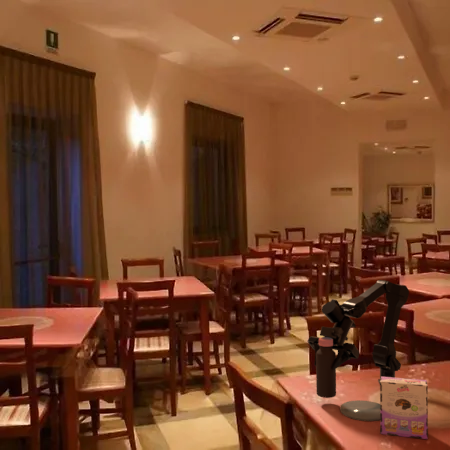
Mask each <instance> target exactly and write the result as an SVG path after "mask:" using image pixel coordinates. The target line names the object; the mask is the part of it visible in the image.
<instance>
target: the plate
mask: <svg viewBox="0 0 450 450" xmlns="http://www.w3.org/2000/svg"><path fill="white" fill-rule="evenodd" d="M339 411H340V413H341V414H342V415H343V416H345V417H347V418H349V419H353V420H357V421H362V422H380V402H379V403H378V402H375V401H371V400H370V401H369V400H362V399H361V400H348V401H346V402H343V403H341V405H340V409H339Z"/></svg>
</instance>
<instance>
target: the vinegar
mask: <svg viewBox="0 0 450 450" xmlns="http://www.w3.org/2000/svg"><path fill="white" fill-rule="evenodd" d="M319 347H320V349H319V350H318V351H317V352H316V366H315V369H316V370H315V372H316V378H315V379H316V381H315V382H316V384H315V385H316V395H317V396H318V397H320V398H324V399H325V398H326V399H331V398H335V397H336V396H337V368H336V369H335V370H332V366H333V363H334V361H335V359H336V357H337V353H336V352H335V350H333V349H332V347H333V339H332V338H329V337H324V336H322V337H319Z"/></svg>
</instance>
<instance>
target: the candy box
mask: <svg viewBox="0 0 450 450" xmlns="http://www.w3.org/2000/svg"><path fill="white" fill-rule="evenodd" d="M379 397H380V398H379V399H380V401H379V404H380V420H379V422H380V429H379V434H380V435H388V436H393V437H394V436H396V437H405V438H411V439H414V438H415V439H422V440H428V438H429V423H428V422H429V421H428V420H429V419H428V417H429V415H428V413H429V410H428V409H429V408H428V407H429V406H428V403H429V402H428V401H429V398H428V397H429V396H428V381H427V379H417V378H403V377H395V378H394V377H382V376H381V380H380V384H379Z"/></svg>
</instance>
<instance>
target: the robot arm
mask: <svg viewBox="0 0 450 450" xmlns="http://www.w3.org/2000/svg"><path fill="white" fill-rule="evenodd" d="M384 294H385V301H386V302H387V308H386V312H385V318H384V324H383V328H382V332H381V337H380V340H379V342H378V343H377V344H376V343H375V344H373V350H372V353H371V355H372V359H373V362H374V366H375V367H378V368H379V378H378V379H377V382H378V384H379V385H380V380H381V376H382V377H394V378H396V372H398V371H399V370H401V367H402V363H401V362H400V361H399V359H398V358H397V350H396V348H395V347H396V346H395V340H396V335H397V330H398V324H399V320H400V313H401V311H402V310H401V309H402V308H403V306H404V305H405V304H406V303H407V302H408V297H409V295H410V290H409V288H408V287H407V285H404V284H399V283H398V284H397V283H394V282H391V281H390V280H385V279H379V280H377V281H376V283H374V284H373V285H371V286H370V287H369V288H368V289H366V290H365V291H364V292H362V293H361V294H360V295H359V296H356V297H351V298H349V299H347V300H345V301H344V302H342V304H340V303H339V301H338V300H337V299H333V298H331V300H330V301H328V302H326V303H325V304H324V305H323V306H322V308H321V312H322V313H323V315H324V316H325V317H326V318H327V319H328V321H330V323H332V324H333V326H332V327H328V326H321V329H320V332H319V336H322V337H329V338H332V339H333V347H332V349H333V351H337V353H336V359H335V361H334V363H333V366H332V370H335V369H336V370H337V368H339V367H340V366H342V365H343V364H344V363H346V362H347V361H348V360H351V359H356V360H358V358H359V356H360V351H359V349H358V348H357V346H356V345H355V343H350V342H345V341H348V340H349V338H348V335H349V333H350V330H351V328H356V327H357V325H356V323H355V319H360V318H362V316H363V315H365V314H366V312H367V309H368V307H369V306H370V305H371V304H372V303H374V302H375V301H377V299H379V298H381V296H383V295H384ZM351 318H354V319H351ZM319 336H313V335H312V336H309V337H308V340H307V341H306V342H307V343H308V344H309V346H310V347H311V349H312V350H314V352H315V353H314V366H315V367H316V352H317V351H318V350H319V349H320V347H319V338H320V337H319Z"/></svg>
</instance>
